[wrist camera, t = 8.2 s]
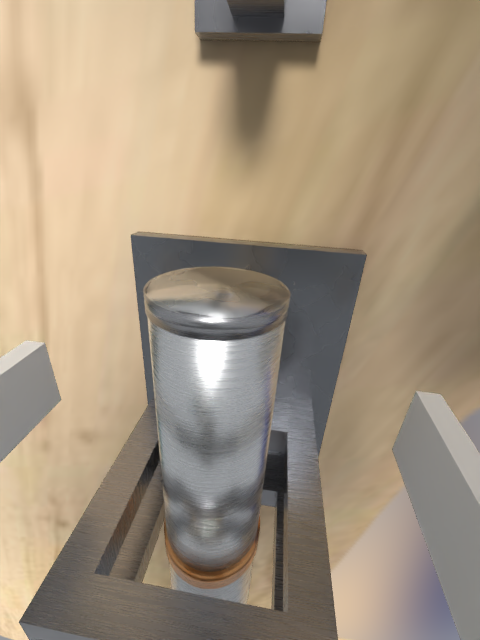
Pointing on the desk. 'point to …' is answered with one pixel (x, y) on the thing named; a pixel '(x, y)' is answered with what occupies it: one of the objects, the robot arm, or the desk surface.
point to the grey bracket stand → (279, 482)
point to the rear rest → (260, 20)
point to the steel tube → (214, 417)
